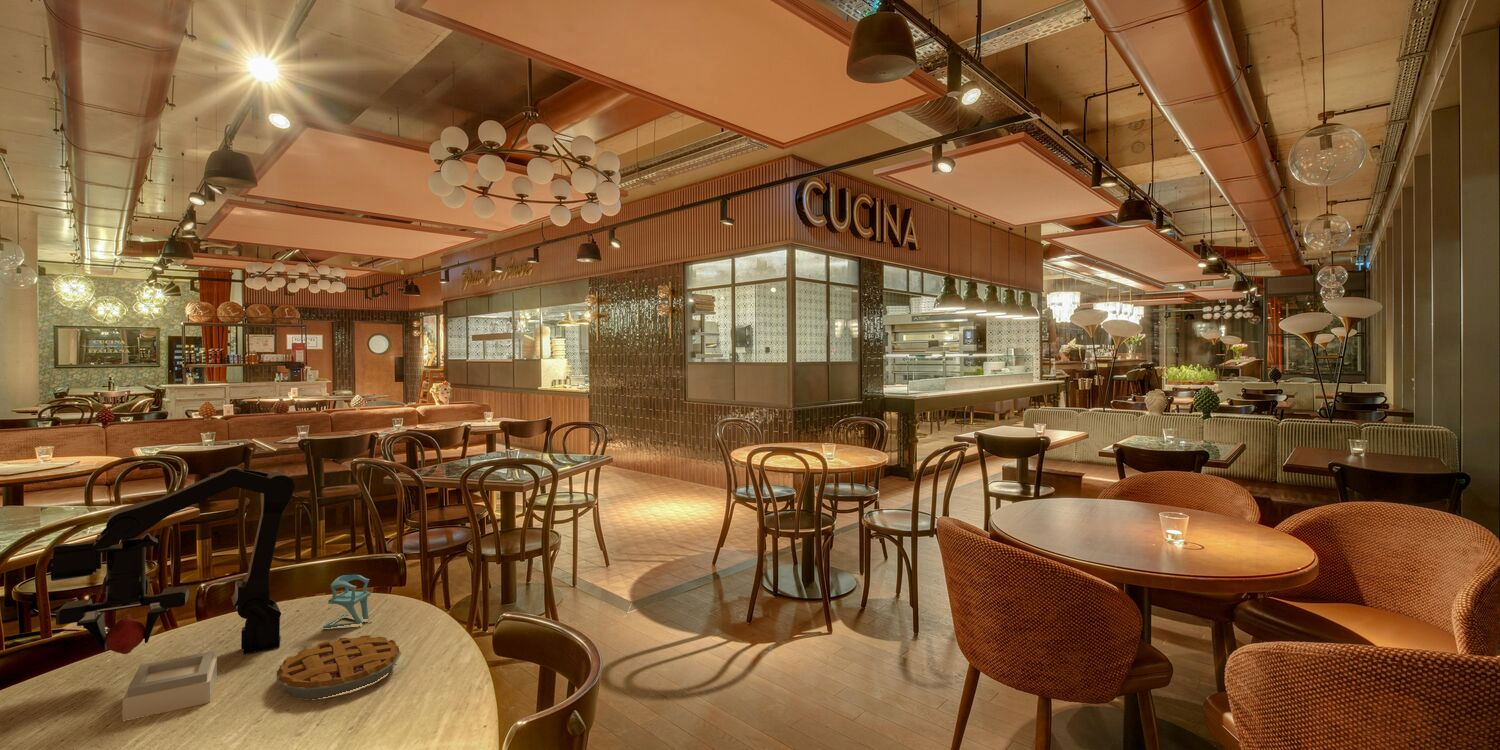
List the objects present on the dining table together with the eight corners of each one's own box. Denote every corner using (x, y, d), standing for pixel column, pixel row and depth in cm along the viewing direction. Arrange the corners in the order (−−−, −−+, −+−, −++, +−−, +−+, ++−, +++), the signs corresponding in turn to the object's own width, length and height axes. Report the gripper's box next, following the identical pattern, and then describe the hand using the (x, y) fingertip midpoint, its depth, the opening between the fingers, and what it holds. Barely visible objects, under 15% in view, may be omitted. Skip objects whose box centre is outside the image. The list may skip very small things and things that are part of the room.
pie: (415, 677, 133) (416, 653, 132) (289, 718, 117) (289, 691, 116) (381, 643, 147) (381, 622, 147) (265, 676, 131) (265, 652, 131)
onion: (119, 662, 125) (120, 622, 125) (97, 658, 127) (97, 619, 127) (152, 649, 131) (153, 611, 131) (131, 646, 132) (131, 608, 132)
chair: (356, 631, 153) (357, 582, 153) (322, 630, 154) (323, 581, 153) (375, 618, 161) (376, 572, 161) (342, 617, 161) (344, 570, 161)
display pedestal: (216, 676, 130) (217, 649, 130) (209, 702, 121) (210, 673, 121) (136, 692, 123) (137, 664, 123) (122, 721, 114) (122, 691, 114)
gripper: (192, 552, 141) (191, 622, 141) (72, 566, 130) (71, 641, 130) (185, 566, 132) (184, 640, 132) (54, 582, 121) (54, 663, 121)
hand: (125, 645), depth 129 cm, fingers closed on onion, 6 cm apart
